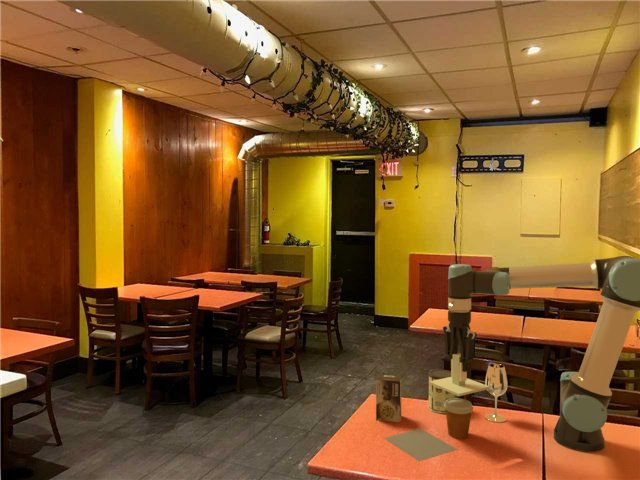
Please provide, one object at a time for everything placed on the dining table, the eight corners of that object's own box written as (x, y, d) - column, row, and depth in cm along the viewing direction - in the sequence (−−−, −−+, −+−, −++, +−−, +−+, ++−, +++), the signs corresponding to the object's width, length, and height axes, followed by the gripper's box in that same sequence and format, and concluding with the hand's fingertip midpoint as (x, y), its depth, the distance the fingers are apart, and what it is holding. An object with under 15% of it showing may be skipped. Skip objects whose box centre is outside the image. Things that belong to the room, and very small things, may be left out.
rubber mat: (457, 452, 159) (457, 449, 159) (418, 464, 152) (419, 461, 151) (420, 431, 175) (420, 428, 175) (383, 441, 167) (383, 438, 167)
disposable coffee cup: (473, 444, 165) (474, 409, 164) (444, 442, 166) (444, 406, 166) (471, 432, 174) (471, 398, 173) (443, 430, 176) (443, 396, 175)
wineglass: (482, 413, 191) (483, 362, 190) (504, 414, 190) (505, 363, 189) (486, 422, 183) (487, 368, 182) (508, 423, 182) (510, 369, 181)
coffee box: (401, 418, 186) (402, 375, 186) (400, 425, 180) (400, 381, 179) (377, 415, 189) (377, 373, 188) (375, 422, 182) (375, 379, 182)
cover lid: (489, 388, 167) (489, 356, 166) (458, 396, 160) (459, 362, 159) (458, 377, 179) (458, 347, 178) (428, 383, 172) (429, 352, 171)
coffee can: (451, 403, 201) (451, 369, 200) (458, 413, 191) (458, 377, 190) (425, 403, 201) (426, 369, 200) (431, 413, 191) (431, 377, 190)
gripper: (434, 307, 173) (434, 374, 174) (469, 315, 159) (468, 387, 160) (450, 305, 177) (449, 371, 178) (486, 313, 163) (485, 384, 164)
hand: (458, 378), depth 169 cm, fingers closed on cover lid, 3 cm apart
